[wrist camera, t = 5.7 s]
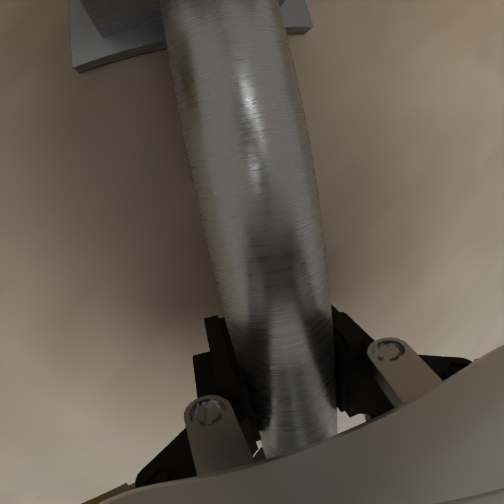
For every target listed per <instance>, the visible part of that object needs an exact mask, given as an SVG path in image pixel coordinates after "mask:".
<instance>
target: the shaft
mask: <svg viewBox="0 0 504 504" xmlns="http://www.w3.org/2000/svg"><path fill="white" fill-rule="evenodd" d="M160 5H161V11H162V18H163V25H164V31H165V37H166V43H167V49H168V55H169V61H170V67H171V73H172V78H173V84H174V90H175V95H176V100H177V106H178V111H179V116H180V121H181V126H182V131H183V136H184V141H185V146H186V151H187V156H188V161H189V166H190V170H191V175H192V180H193V184H194V189H195V193H196V198H197V202H198V207H199V211H200V216H201V220H202V224H203V229H204V233H205V237H206V242H207V246H208V250H209V254H210V258H211V262H212V266H213V270H214V275H215V279H216V283H217V287H218V290H219V294H220V298H221V302H222V306H223V310H224V314H225V318H226V321H227V325H228V329H229V333H230V336H231V340H232V344H233V347H234V351H235V355H236V358H237V361H238V364H239V365H240V368H241V371H242V374H243V378H244V381H245V384H246V388H247V391H248V395H249V398H250V402H251V405H252V408H253V412H254V415H255V419H256V422H257V425H258V429H259V432H260V435H261V439H262V440H261V443H262V448H260V450H259V451H258V452H257V453H256V455H255V456H254V460H255V462H257V461H261V460H264V459H268V458H271V457H274V456H278V455H281V454H284V453H287V452H290V451H293V450H296V449H299V448H302V447H305V446H308V445H310V444H313V443H316V442H319V441H321V440H324V439H326V438H329V437H332V436H334V435H337V396H336V372H335V353H334V337H333V323H332V311H331V299H330V288H329V278H328V268H327V259H326V250H325V242H324V234H323V226H322V218H321V211H320V204H319V197H318V190H317V184H316V177H315V171H314V165H313V159H312V153H311V147H310V141H309V136H308V130H307V125H306V120H305V114H304V109H303V104H302V99H301V95H300V90H299V85H298V80H297V76H296V71H295V67H294V62H293V58H292V54H291V50H290V45H289V41H288V37H287V33H286V29H285V25H284V22H283V18H282V14H281V10H280V7H279V3H278V0H160Z"/></svg>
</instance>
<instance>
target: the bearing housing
mask: <svg viewBox="0 0 504 504" xmlns="http://www.w3.org/2000/svg"><path fill="white" fill-rule="evenodd" d="M278 3H279V7H280V10H281V14H282V18H283V22H284V25H285V29H286V33H287V34H305V33H306V32H307V31H309V30H310V29H311V28H312V23H311V19H310V16H309V12H308V9H307V5H306V2H305V0H278ZM70 36H71V52H72V65H73V68H74V69H75V70H76V71H77V72H78V73H81V72H84V71H87V70H90V69H93V68H96V67H99V66H102V65H105V64H108V63H112V62H115V61H118V60H122V59H125V58H129V57H133V56H136V55H140V54H144V53H148V52H153V51H157V50H161V49H166V48H167V43H166V37H165V31H164V25H163V18H162V11H161V5H160V0H70Z"/></svg>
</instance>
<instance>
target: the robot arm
mask: <svg viewBox="0 0 504 504" xmlns="http://www.w3.org/2000/svg"><path fill="white" fill-rule="evenodd" d="M331 311H332V323H333V337H334V353H335V372H336V396H337V407H338V409H339V410H340V411H341V412H343V411H346V413H347V414H348V416H349V417H352V416H355V415H357V414H359V413H361V414H364V417H365V419H366V421H367V422H364V423H362V424H360V425H358V426H355V427H353V428H351V429H349V430H346V431H344V432H341V433H339V434H337V435H334V436H332V437H329V438H326V439H324V440H321V441H319V442H316V443H313V444H310V445H308V446H305V447H302V448H299V449H296V450H293V451H290V452H287V453H284V454H281V455H278V456H274V457H271V458H268V459H264V460H261V461H257V462H255V460H254V458H253V455H254V453H255V452H256V451H257V450H258V447H257V444H256V441H259V440H262V439H261V435H260V432H259V429H258V425H257V422H256V419H255V415H254V412H253V408H252V405H251V402H250V398H249V395H248V391H247V388H246V384H245V381H244V378H243V374H242V371H241V368H240V365H239V364H238V361H237V358H236V355H235V351H234V347H233V344H232V341H231V338H230V334H229V331H228V328H227V325H226V322H225V319H224V317H223V318H218V315H216V316H212V317H208V318H205V319H204V322H205V327H206V333H207V338H208V343H209V348H210V352H206V353H202V354H198V355H193V365H194V374H195V382H196V390H197V397H198V399H196V400H194V401H193V402H191V403H190V404H189V405H188V406H187V407H186V409H185V412H184V421H185V425H186V428H185V429H184V430H183V431H182V432H181V433H180V434H179V435H178V436H177V437H176V438H175V439H174V440H173V441H172V442H171V443H170V444H169V445H168V446H166V447H165V448H164V449H163V450H162V451H161V452H160V453H159V454H158V455H157V456H156V457H155V458H154V459H153V460H152V461H151V462H150V463H149V464H147V465H146V466H145V467H144V468H143V469H142V470H141V471H140V473H139V474H138V475H137V478H136V481H135V483H133V484H131V485H128V484H127V483H125V484H123V485H121V486H119V487H117V488H115V489H113V490H111V491H109V492H107V493H104V494H102V495H100V496H98V497H96V498H93V499H91V500H89V501H86V502H84V503H82V504H504V345H503V346H500V347H498V348H496V349H494V350H493V351H491V352H489V353H487V354H485V355H484V356H482V357H481V358H479V359H474V361H473V362H471V361H470V360H467V359H465V358H459V357H442V356H428V355H418V354H417V353H416V352H415V351H414V350H413V349H412V348H411V347H410V346H409V345H408V344H407V343H406V342H404V341H403V340H400V339H398V338H392V337H390V338H382V339H378V340H376V341H374V340H373V339H372V338H371V337H370V336H369V335H368V334H367V333H366V332H365V331H364V330H363V329H362V328H361V327H360V326H358V325H357V324H356V323H355V322H354V321H353V320H352V319H351V318H350V317H349V316H348V315H347V314H346V313H344V312H341V313H340V312H339V311H338V310H337V309H336V308H335V307H334V306H333V305H331Z"/></svg>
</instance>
